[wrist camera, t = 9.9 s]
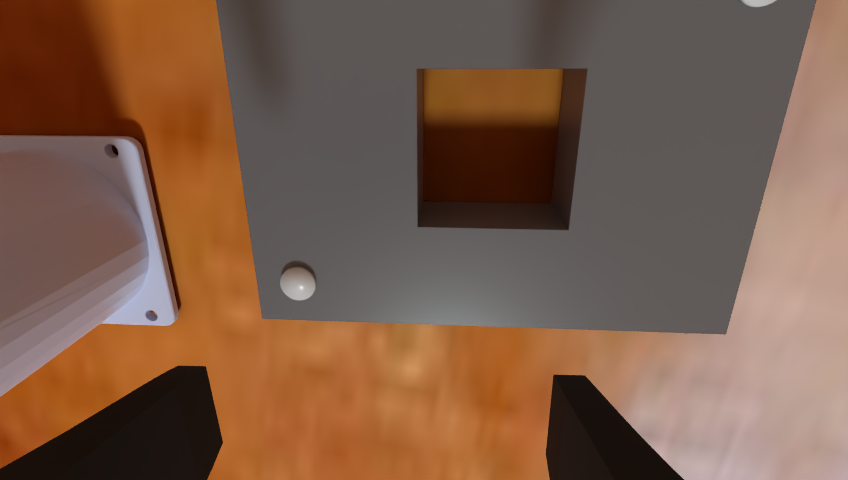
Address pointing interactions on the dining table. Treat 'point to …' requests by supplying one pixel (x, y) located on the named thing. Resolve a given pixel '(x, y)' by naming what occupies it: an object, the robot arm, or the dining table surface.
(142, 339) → the dining table surface
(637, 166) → the plate
